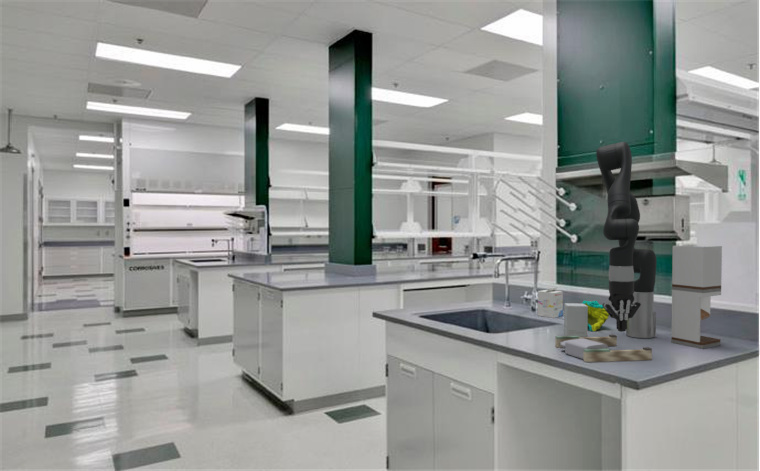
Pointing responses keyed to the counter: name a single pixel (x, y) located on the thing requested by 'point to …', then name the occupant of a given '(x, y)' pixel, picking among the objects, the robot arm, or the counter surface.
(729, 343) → the counter surface
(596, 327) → the organ model
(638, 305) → the robot arm
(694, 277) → the coffee maker
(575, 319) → the supplement box
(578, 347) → the charger
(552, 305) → the ink box
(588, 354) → the railed run
